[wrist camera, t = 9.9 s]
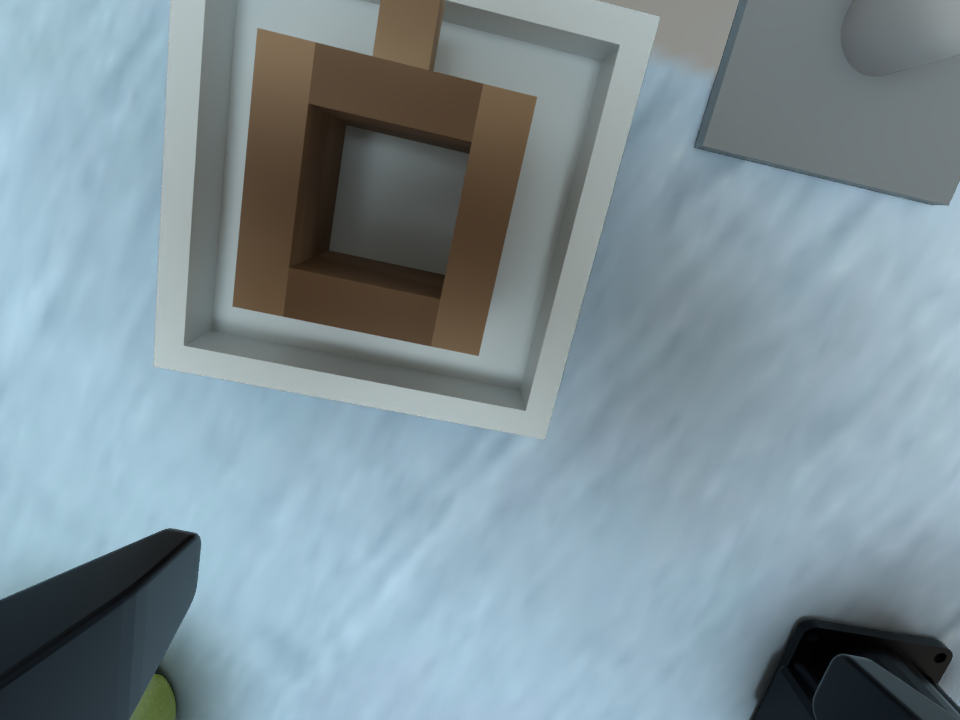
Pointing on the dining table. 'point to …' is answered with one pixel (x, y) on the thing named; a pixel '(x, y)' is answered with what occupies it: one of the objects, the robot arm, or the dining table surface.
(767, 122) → the post base
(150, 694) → the plant pot
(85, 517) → the dining table surface
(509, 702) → the dining table surface
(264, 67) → the open wooden frame
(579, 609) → the dining table surface
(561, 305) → the tray
